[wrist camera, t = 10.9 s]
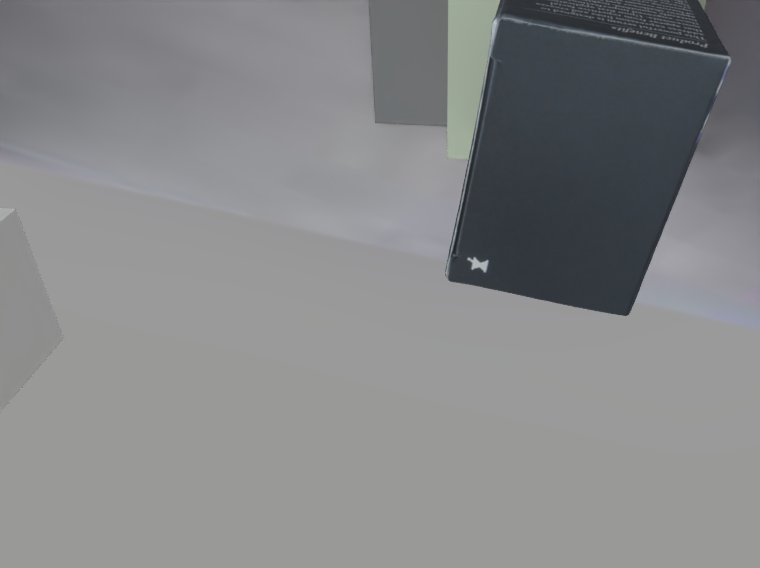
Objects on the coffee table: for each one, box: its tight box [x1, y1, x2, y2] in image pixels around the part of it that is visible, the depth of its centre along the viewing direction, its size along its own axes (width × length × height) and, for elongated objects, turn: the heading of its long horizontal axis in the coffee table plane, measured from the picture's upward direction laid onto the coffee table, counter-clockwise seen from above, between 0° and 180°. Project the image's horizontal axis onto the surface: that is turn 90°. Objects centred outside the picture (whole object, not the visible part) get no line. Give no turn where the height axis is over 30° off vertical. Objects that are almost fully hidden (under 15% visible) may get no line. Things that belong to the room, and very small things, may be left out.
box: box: [445, 0, 731, 316], centre depth 23 cm, size 8×6×11 cm
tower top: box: [447, 0, 706, 159], centre depth 29 cm, size 9×9×4 cm
